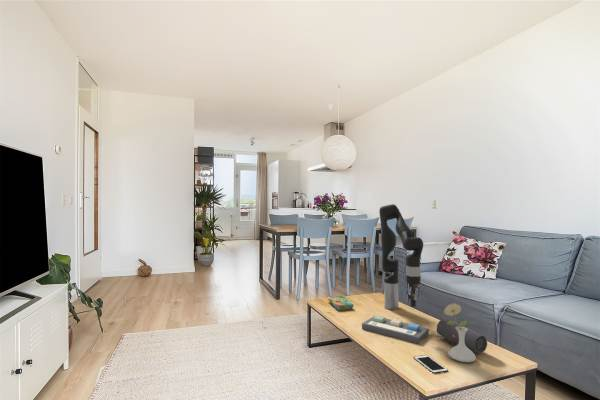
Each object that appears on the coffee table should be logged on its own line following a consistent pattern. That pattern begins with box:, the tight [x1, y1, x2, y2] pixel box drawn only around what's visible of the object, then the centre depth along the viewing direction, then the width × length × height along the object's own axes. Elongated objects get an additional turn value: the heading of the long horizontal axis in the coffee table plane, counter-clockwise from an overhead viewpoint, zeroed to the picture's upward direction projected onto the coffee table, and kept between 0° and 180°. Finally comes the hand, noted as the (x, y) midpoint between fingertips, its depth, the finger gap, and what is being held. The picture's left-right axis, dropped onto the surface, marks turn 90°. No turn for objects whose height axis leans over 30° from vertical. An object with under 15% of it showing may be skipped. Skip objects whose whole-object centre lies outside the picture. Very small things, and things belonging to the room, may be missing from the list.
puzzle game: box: [327, 295, 355, 311], centre depth 226 cm, size 12×5×20 cm
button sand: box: [390, 318, 403, 327], centre depth 181 cm, size 5×5×4 cm
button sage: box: [374, 315, 386, 323], centre depth 188 cm, size 5×5×4 cm
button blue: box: [408, 322, 421, 332], centre depth 175 cm, size 5×5×4 cm
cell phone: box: [413, 354, 449, 374], centre depth 143 cm, size 8×15×1 cm, turn 14°
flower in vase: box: [443, 303, 477, 363], centre depth 148 cm, size 13×11×25 cm
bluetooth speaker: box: [436, 319, 488, 354], centre depth 161 cm, size 23×9×10 cm, turn 23°
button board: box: [361, 315, 430, 345], centre depth 180 cm, size 16×32×4 cm, turn 51°
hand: (413, 306), depth 175 cm, fingers closed
